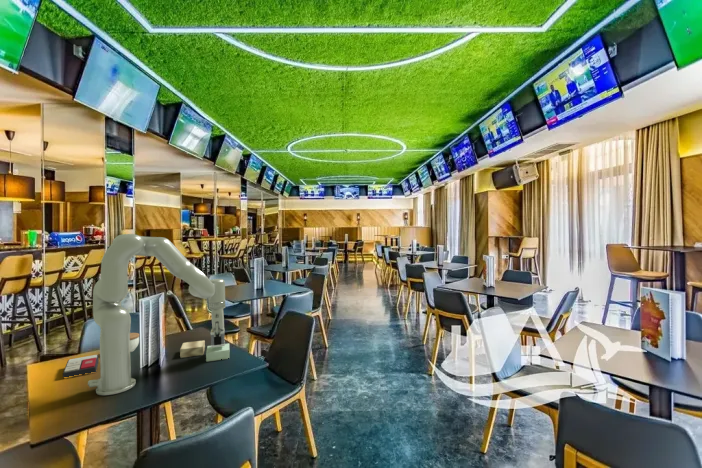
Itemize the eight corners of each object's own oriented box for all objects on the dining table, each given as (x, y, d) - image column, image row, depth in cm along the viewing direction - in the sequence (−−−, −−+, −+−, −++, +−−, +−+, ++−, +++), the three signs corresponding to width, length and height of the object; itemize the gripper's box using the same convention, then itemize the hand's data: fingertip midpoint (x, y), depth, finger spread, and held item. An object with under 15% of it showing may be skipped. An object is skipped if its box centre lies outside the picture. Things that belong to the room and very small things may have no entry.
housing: (224, 345, 158) (224, 330, 158) (210, 347, 156) (210, 331, 156) (224, 342, 164) (224, 326, 164) (211, 343, 162) (211, 328, 162)
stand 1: (180, 357, 159) (180, 349, 159) (183, 350, 169) (183, 342, 169) (203, 354, 163) (203, 346, 163) (204, 348, 172) (204, 340, 172)
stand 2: (206, 361, 154) (206, 353, 154) (207, 354, 163) (207, 346, 163) (229, 358, 157) (229, 349, 157) (229, 351, 167) (229, 343, 167)
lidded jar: (144, 348, 173) (144, 330, 173) (124, 356, 163) (123, 337, 163) (130, 346, 177) (129, 328, 177) (109, 353, 167) (108, 334, 167)
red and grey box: (62, 371, 138) (67, 358, 150) (62, 381, 138) (68, 367, 151) (95, 365, 144) (98, 353, 157) (96, 374, 144) (98, 362, 157)
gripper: (225, 308, 153) (226, 347, 153) (225, 300, 169) (226, 336, 170) (207, 309, 151) (208, 349, 151) (209, 302, 167) (210, 338, 167)
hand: (218, 342), depth 160 cm, fingers closed on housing, 5 cm apart
